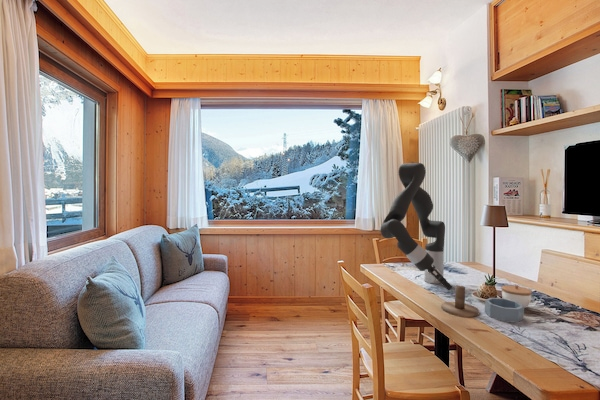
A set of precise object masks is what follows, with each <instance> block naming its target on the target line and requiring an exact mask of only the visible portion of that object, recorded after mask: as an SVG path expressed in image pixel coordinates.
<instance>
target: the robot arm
mask: <svg viewBox="0 0 600 400" xmlns="http://www.w3.org/2000/svg"><path fill="white" fill-rule="evenodd" d="M397 173H398V178H399V180H400V182H401V184H402V185H403V187H404V189H403V190H402V191H401V192H400V193H399V194H397V195H396V197H395V198H394V199H393V201H392V203H391V206H390V209H389V211H388V214H386V216H385V218H384V219H383V222H382V223H381V226H380V234H381V236H382V237H383V238H384V239H393V238H396V240H397V243H396V245H397V248H398V249H399V250H400V251H401V252H402V253H403V255H405V256H406V258H407V259H408V260H409V261H410V262H411V264H413V265H414V266H415V267H416V268H417V269H418V271H420V272H424V282H426V283H430V284H435V285H436V284H437V285H438V284H440V285H442V286H443V287H444V288H446V290H447V291H450V290H452V289H453V286H452V285H451V283H450V282H448V281H447V278H445V277H444V267H445V266H444V265H445V264H444V248H445V236H446V225H445V222H444V221H442V220H441V221H439V220H430V219H429V216H430V215H431V213H432V211H433V209H434V203H433V200H432V198H431V195H430V194H429V193H428V191H426V190H425V189H424V188H422V187H421V186H422V184H423V181H424V180H425V178H426V173H427V172H426V166H425V165H424V163H421V162H410V163H409V162H407V163H406V162H405V163H403V164H400V165H399V167H398V172H397ZM410 204H412V206H413V209H414V211H415V212H416V215H417V218H418V221H419V224H420V225H419V226H420V228H421V231H422V234H423V235H424V236H425V237H427V238H432V239H435V240H434V241H433V242H429V243H426V244H425V246H424V248H423V247H422V246H421V245H420V244H419V243H418V242H417V241H416V240H415V239H414V238H413V237H412V236H411V235H410V233H409V231H408V229H407V227H405V225H404V224H403V222H402V221H403V220H404V219H405V217H406V216H407V212H408V210H409V207H410Z"/></svg>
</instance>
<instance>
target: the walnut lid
mask: <svg viewBox="0 0 600 400" xmlns="http://www.w3.org/2000/svg"><path fill="white" fill-rule="evenodd" d="M454 291H455V292H454V294H455V295H454V301H444V302H443V303H440V308H441V310H442V311H443V312H445V313H447V314H450V315H452V316H456V317H460V318H462V317H463V318H475V317H478V316H479V314H480V310H479V309H478V308H477V307H476V306H474V305H471V304H469V303H465V301H466V286H464V285H455V290H454Z"/></svg>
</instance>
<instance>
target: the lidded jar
mask: <svg viewBox="0 0 600 400" xmlns="http://www.w3.org/2000/svg"><path fill="white" fill-rule="evenodd" d="M532 293H533V292H532V290H531V289H529V288H527V287H523V286H520V285H518V284H515V285H512V284H511V285H510V284H509V285H506V284H505V285H502V286H501V295H502V297H501V298H504V299H508V300H512V301H515V302H518V303H519V304H521V305H522V306H524V309H525V308H527V307H528V306H529V305H530V304H531V300H532Z"/></svg>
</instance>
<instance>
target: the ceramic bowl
mask: <svg viewBox="0 0 600 400" xmlns="http://www.w3.org/2000/svg"><path fill="white" fill-rule="evenodd" d="M484 313H485V314H487V316H488V317H490V318H491V319H492V318H493V319H496V320H499V321H502V322H510V323H520V322H522V321H523V320H524V316H525V308H524V306H522V305H521V304H519V303H518V302H515V301H512V300H508V299H504V298H502V297H501V298H500V297H489V298H486V299H485V300H484ZM522 319H523V320H522ZM519 321H520V322H519Z"/></svg>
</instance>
